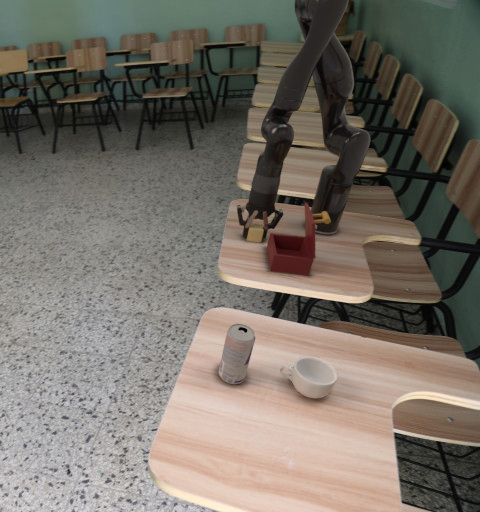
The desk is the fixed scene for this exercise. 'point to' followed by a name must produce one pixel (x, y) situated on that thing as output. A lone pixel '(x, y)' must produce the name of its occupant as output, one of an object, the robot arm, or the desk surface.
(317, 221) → the cover
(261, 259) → the desk surface
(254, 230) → the tan cube
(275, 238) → the red cubby box
